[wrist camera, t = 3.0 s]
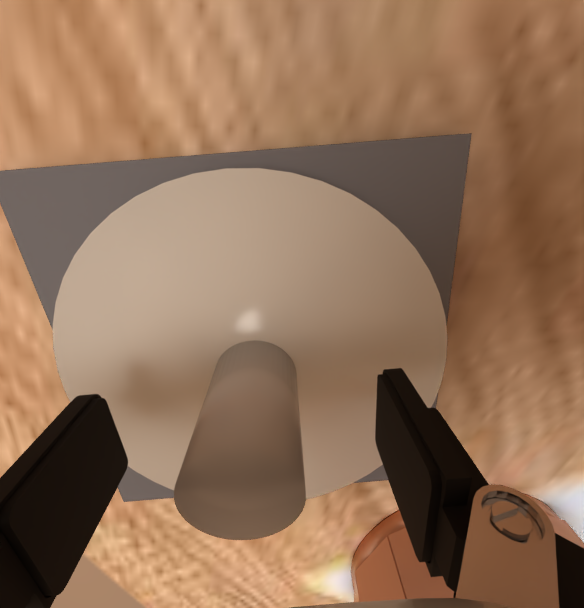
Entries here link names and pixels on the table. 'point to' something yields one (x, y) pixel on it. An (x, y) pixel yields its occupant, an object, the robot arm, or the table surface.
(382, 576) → the bowl
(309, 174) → the mat
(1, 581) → the robot arm
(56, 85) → the table surface
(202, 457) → the lid
